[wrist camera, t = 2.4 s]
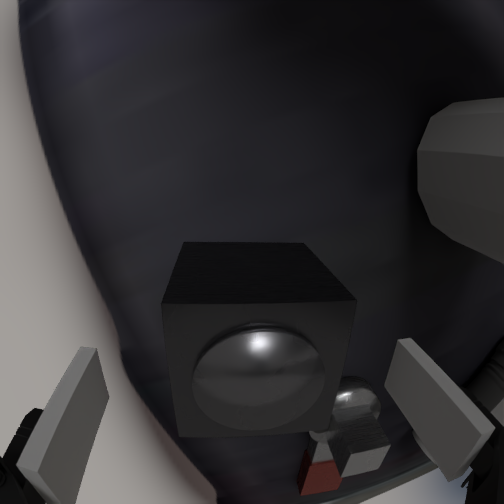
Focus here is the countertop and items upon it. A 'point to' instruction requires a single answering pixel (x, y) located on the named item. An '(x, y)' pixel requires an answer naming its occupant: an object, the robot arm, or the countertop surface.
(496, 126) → the jar
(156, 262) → the countertop surface
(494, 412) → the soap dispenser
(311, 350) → the speaker cube
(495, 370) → the flashlight
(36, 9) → the countertop surface
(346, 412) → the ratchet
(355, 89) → the countertop surface
